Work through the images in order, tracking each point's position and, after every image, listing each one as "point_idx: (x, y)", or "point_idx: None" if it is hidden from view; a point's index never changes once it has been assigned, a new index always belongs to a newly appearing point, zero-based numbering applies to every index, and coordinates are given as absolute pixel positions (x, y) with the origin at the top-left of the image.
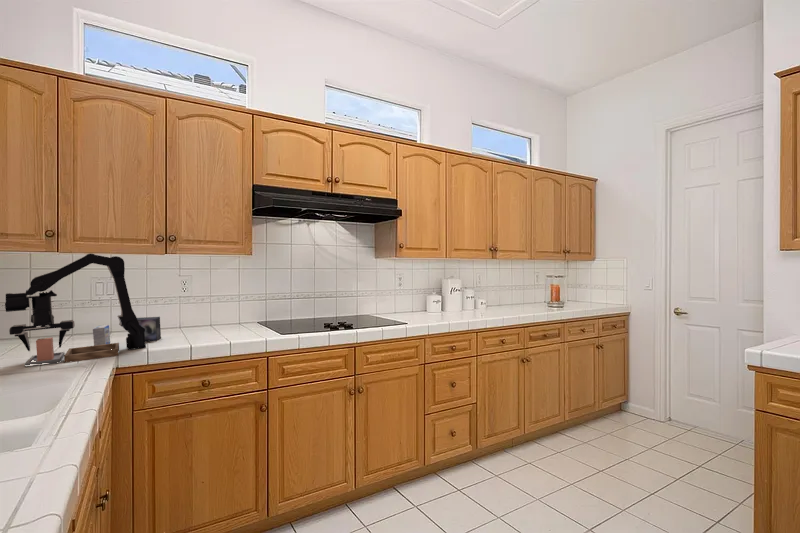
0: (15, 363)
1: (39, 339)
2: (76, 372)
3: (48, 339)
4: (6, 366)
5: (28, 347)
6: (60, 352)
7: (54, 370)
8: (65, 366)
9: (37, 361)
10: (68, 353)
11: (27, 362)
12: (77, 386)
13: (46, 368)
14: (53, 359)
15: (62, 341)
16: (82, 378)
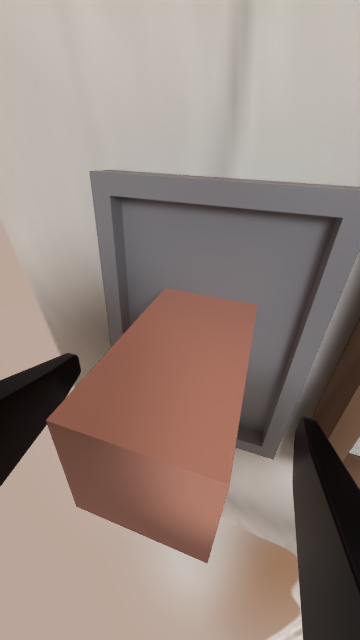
0: (44, 239)
1: (82, 473)
2: (297, 586)
3: (183, 552)
4: (33, 293)
5: (56, 408)
6: (332, 204)
7: (240, 521)
8: (284, 509)
9: None
10: (346, 452)
11: None
12: (272, 637)
13: None
14: (242, 444)
15: (351, 488)
16: (295, 622)
